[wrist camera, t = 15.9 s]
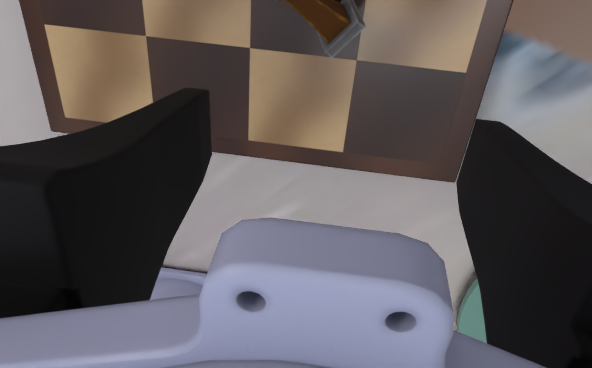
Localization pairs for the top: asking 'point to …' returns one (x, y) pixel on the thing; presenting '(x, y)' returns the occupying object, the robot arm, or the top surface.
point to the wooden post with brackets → (331, 21)
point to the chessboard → (279, 75)
